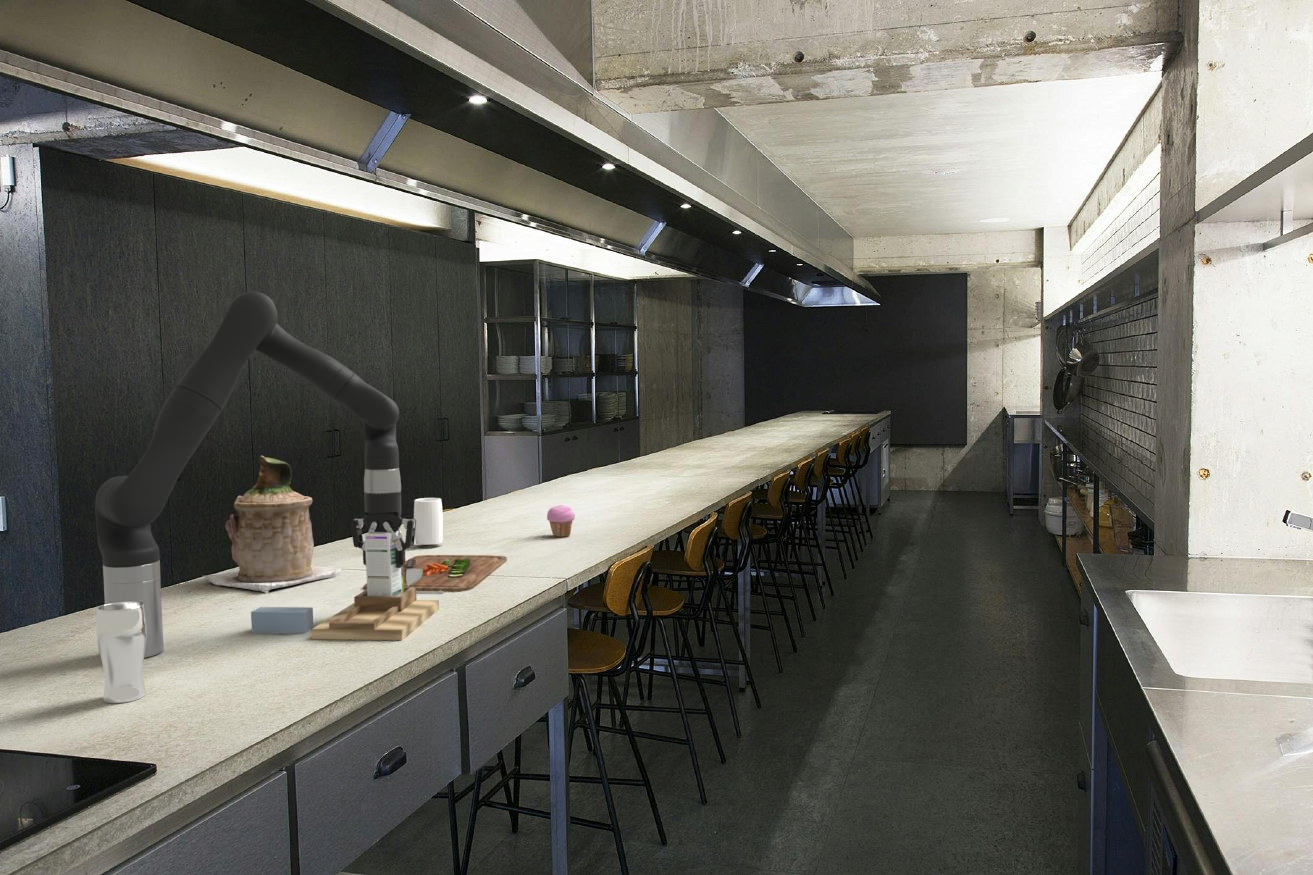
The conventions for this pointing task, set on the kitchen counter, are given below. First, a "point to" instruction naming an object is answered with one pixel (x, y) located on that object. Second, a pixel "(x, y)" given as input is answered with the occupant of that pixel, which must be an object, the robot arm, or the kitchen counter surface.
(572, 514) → the cupcake
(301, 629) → the block
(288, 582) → the cookie jar
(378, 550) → the syrup box
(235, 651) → the kitchen counter surface
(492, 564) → the chopping board
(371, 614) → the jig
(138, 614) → the beer glass
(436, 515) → the cup
